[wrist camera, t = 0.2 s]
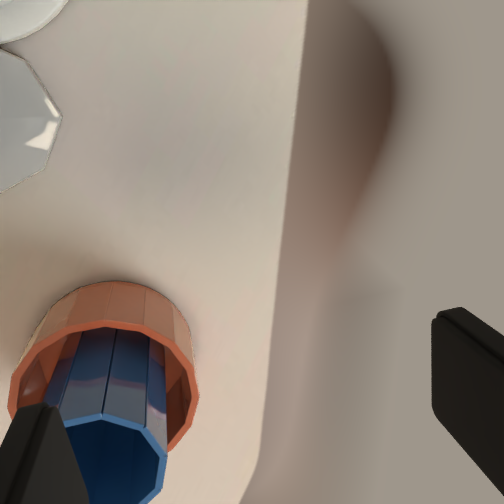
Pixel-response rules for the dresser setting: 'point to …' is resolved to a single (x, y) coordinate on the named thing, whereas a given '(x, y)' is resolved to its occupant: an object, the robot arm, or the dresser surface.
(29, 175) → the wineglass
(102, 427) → the blue cup
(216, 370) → the dresser surface
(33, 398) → the orange bowl
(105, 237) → the dresser surface
